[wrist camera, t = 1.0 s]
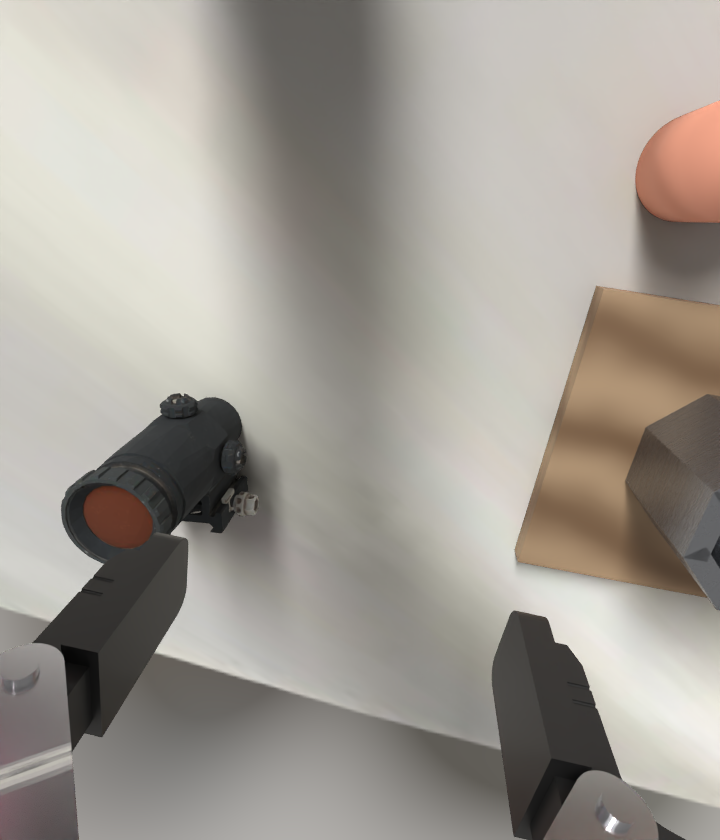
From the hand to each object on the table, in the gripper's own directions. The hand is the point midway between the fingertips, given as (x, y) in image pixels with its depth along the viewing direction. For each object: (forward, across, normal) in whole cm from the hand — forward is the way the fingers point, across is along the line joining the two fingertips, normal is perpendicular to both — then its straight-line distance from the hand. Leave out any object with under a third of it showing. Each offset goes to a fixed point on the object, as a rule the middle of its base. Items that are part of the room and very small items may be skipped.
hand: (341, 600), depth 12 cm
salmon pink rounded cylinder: (+24, -14, -14) cm, 31 cm away
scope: (+24, +12, +9) cm, 29 cm away
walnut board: (+24, -22, +3) cm, 33 cm away
